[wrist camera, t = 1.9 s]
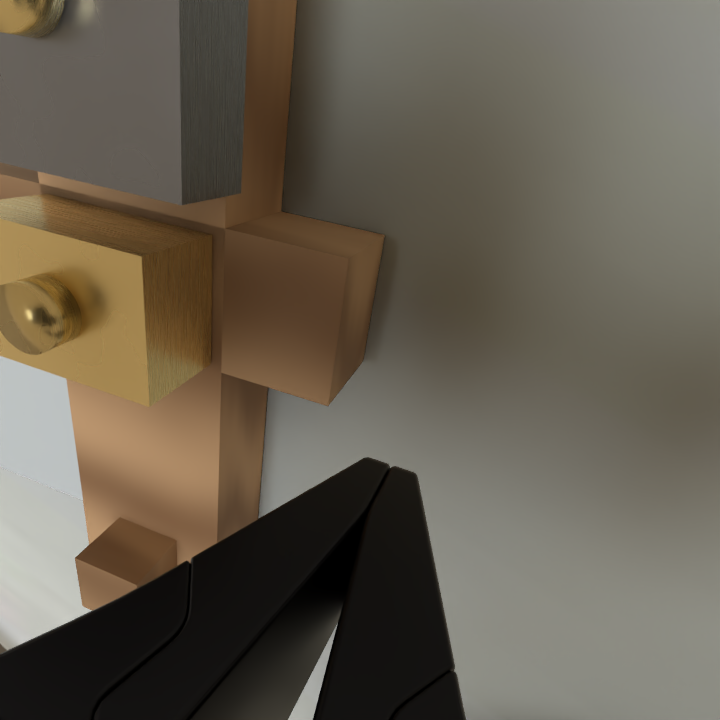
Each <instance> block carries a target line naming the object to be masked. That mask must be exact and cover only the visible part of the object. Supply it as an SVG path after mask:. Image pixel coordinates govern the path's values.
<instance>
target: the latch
mask: <svg viewBox="0 0 720 720" xmlns="http://www.w3.org/2000/svg"><path fill="white" fill-rule="evenodd" d="M212 252H213V234H209V233H205V232H201V231H197V230H193V229H189V228H185V227H181V226H177V225H172V224H168V223H164V222H160V221H156V220H152V219H148V218H144V217H140V216H136V215H132V214H128V213H124V212H120V211H116V210H112V209H108V208H104V207H100V206H96V205H92V204H88V203H84V202H80V201H76V200H72V199H68V198H63V197H59V196H55V195H51V194H40V195H32V196H24V197H16V198H8V199H0V356H2V357H5V358H8V359H11V360H14V361H17V362H20V363H22V364H25V365H28V366H31V367H34V368H37V369H40V370H43V371H46V372H49V373H51V374H54V375H57V376H60V377H63V378H66V379H69V380H72V381H75V382H78V383H81V384H83V385H86V386H89V387H92V388H95V389H98V390H101V391H104V392H107V393H110V394H112V395H115V396H118V397H121V398H124V399H127V400H130V401H133V402H136V403H139V404H141V405H144V406H147V407H150V406H152V405H153V404H155V403H156V402H158V401H159V400H160V399H162V398H163V397H165V396H166V395H168V394H169V393H170V392H172V391H173V390H175V389H176V388H178V387H179V386H180V385H182V384H183V383H185V382H186V381H187V380H189V379H190V378H192V377H193V376H195V375H196V374H197V373H199V372H200V371H202V370H203V369H205V368H206V367H207V366H209V365H210V364H211V322H212Z"/></svg>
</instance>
